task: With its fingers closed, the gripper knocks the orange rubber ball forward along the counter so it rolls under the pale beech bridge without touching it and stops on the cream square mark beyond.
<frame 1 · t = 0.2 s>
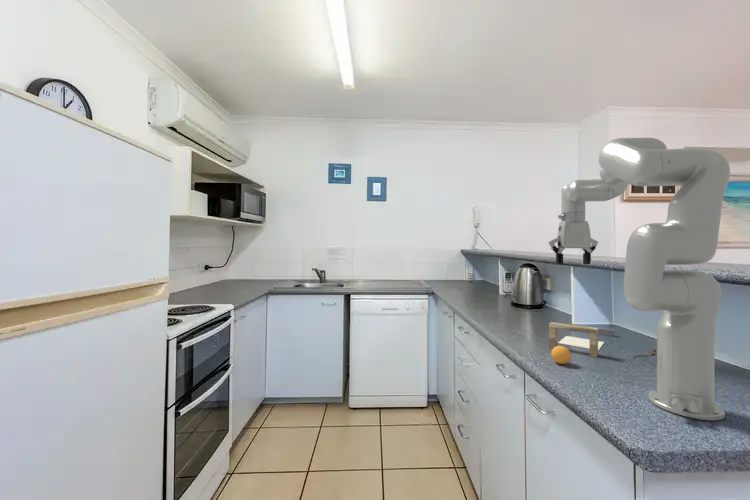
hand: (573, 264, 118), 31 cm above the worktop, tool pointing down, fingers open, 9 cm apart
ball: (561, 354, 101), on the worktop
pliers: (648, 358, 108), on the worktop
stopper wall: (590, 332, 138), on the worktop
bridge: (572, 351, 113), on the worktop
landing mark: (581, 342, 123), on the worktop
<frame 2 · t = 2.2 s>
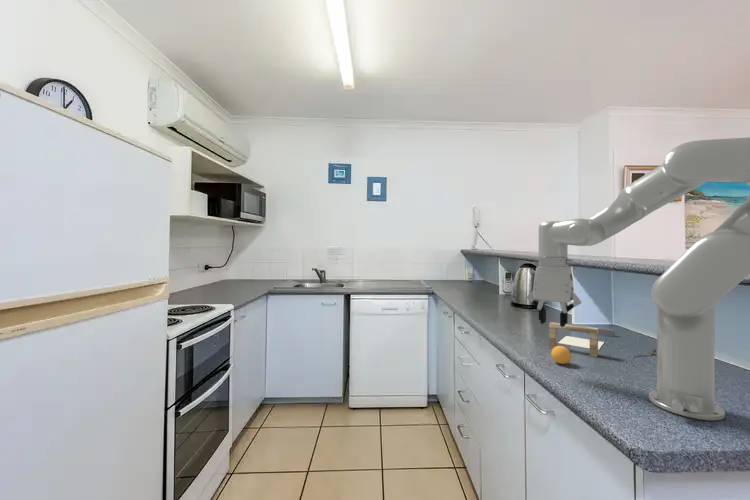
hand: (552, 323, 94), 14 cm above the worktop, tool pointing down, fingers open, 4 cm apart
nothing on the worktop moved.
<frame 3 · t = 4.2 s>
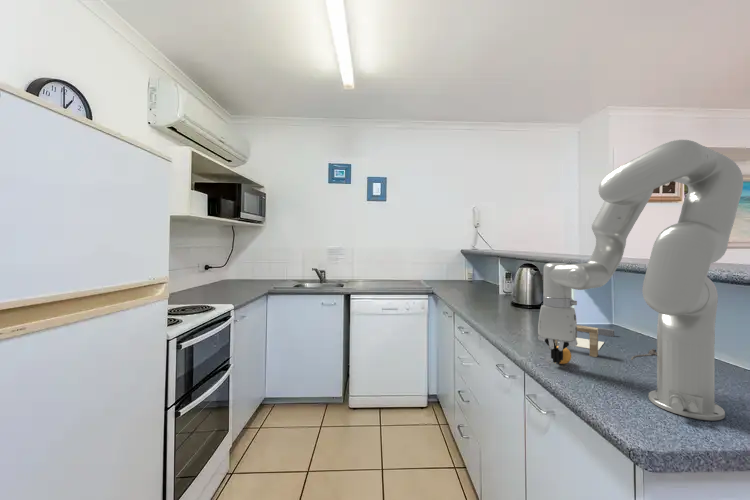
hand: (556, 361, 98), 2 cm above the worktop, tool pointing down, fingers closed
ball: (561, 354, 101), on the worktop, touching gripper
everything else where it was.
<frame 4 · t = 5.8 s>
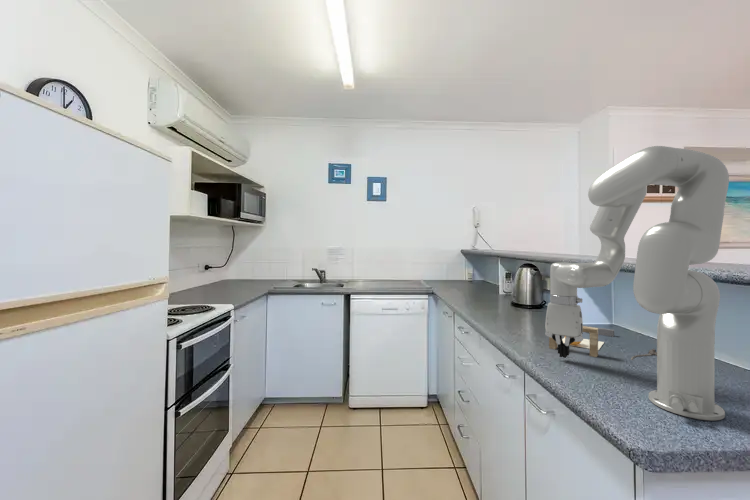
hand: (563, 356, 104), 2 cm above the worktop, tool pointing down, fingers closed
ball: (573, 337, 121), on the worktop
everything else where it was.
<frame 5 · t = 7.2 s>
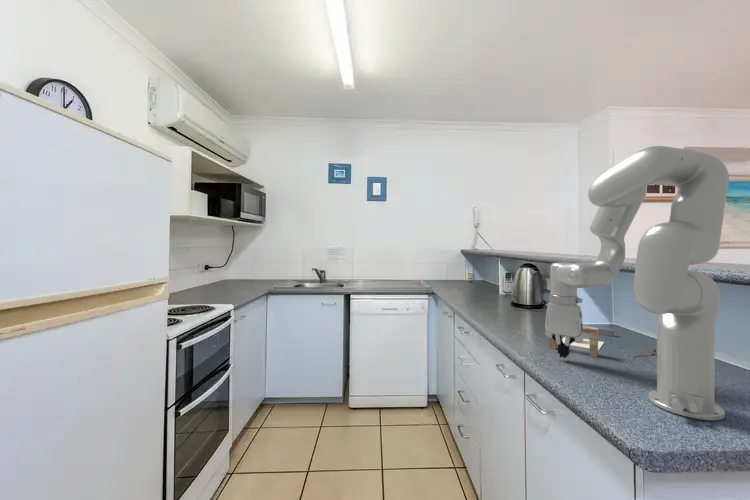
hand: (563, 356, 104), 2 cm above the worktop, tool pointing down, fingers closed
ball: (575, 334, 125), on the worktop
everything else where it was.
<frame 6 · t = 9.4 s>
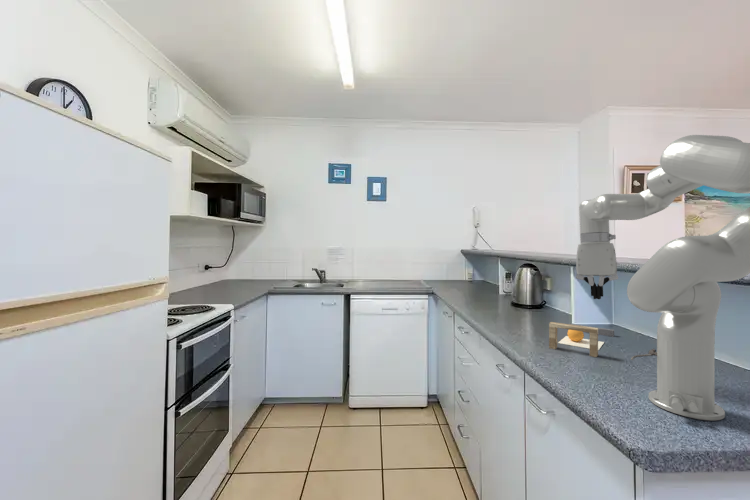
hand: (597, 298, 98), 21 cm above the worktop, tool pointing down, fingers closed
nothing on the worktop moved.
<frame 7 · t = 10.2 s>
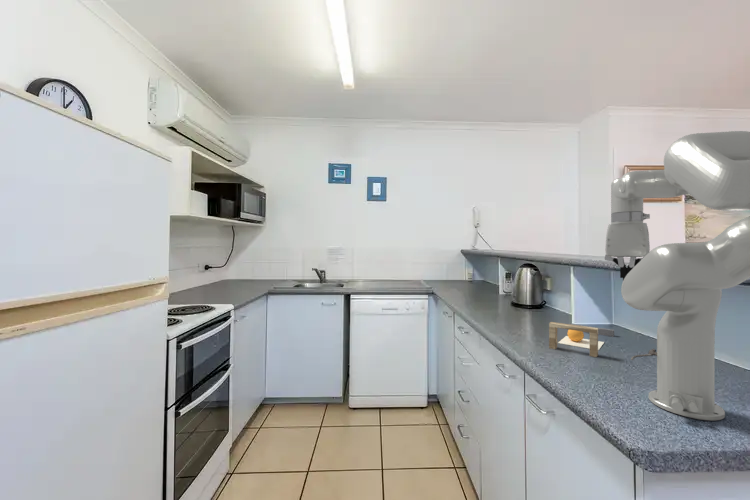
hand: (626, 280, 95), 27 cm above the worktop, tool pointing down, fingers closed
nothing on the worktop moved.
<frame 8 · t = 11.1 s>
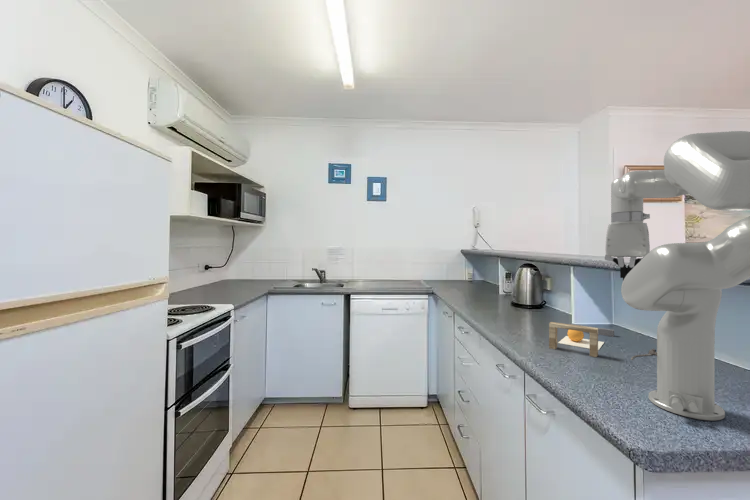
hand: (626, 280, 95), 27 cm above the worktop, tool pointing down, fingers closed
nothing on the worktop moved.
at the end: ball 2.1 cm from the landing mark (horizontally); ball never touched bridge; ball at rest at the end (0.0 cm/s) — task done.
